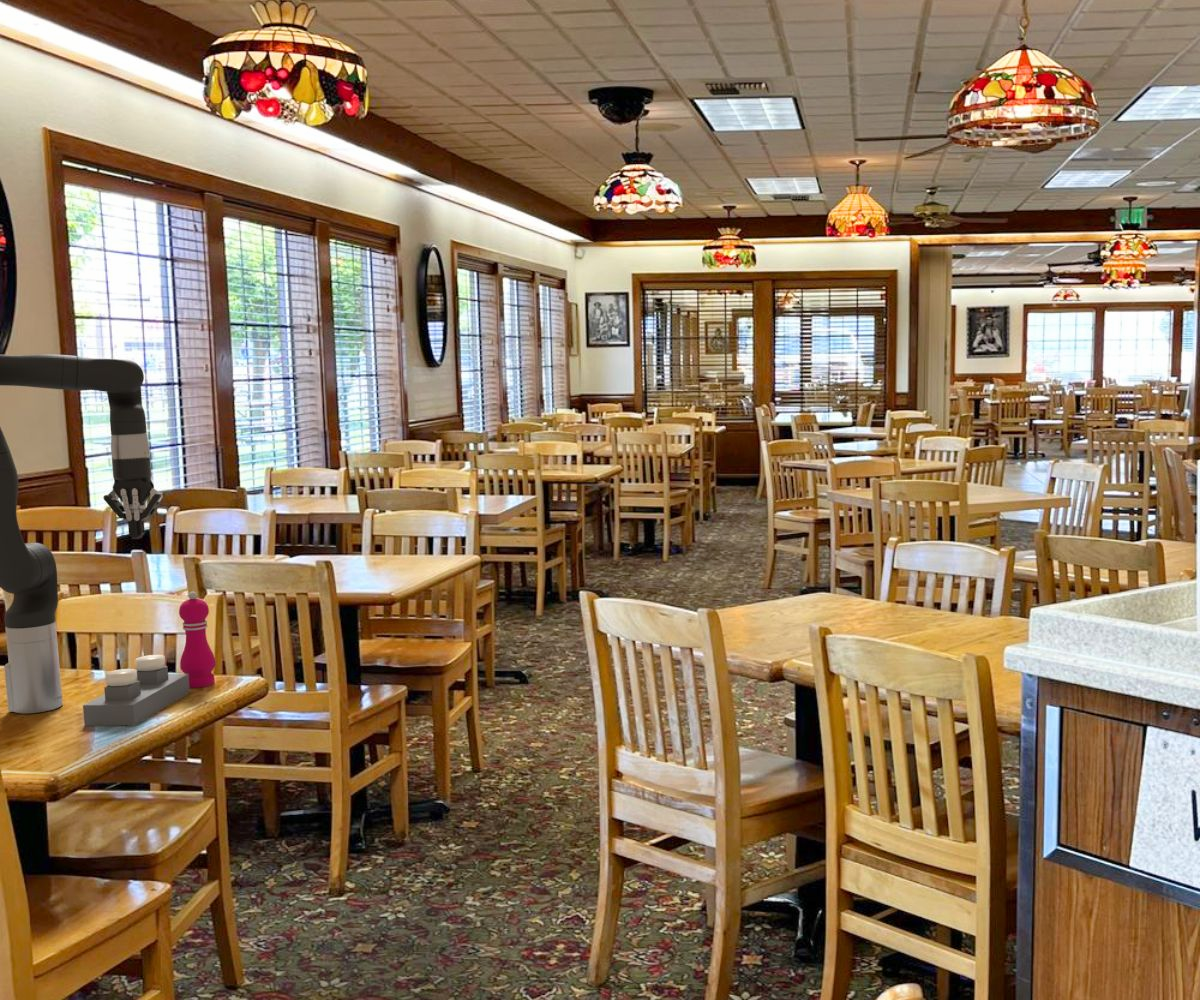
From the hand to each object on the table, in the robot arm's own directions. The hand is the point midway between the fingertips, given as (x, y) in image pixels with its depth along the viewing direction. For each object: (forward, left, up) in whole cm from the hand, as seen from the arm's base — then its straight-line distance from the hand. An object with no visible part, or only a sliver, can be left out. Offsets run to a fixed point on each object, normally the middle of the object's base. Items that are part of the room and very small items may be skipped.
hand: (137, 538), depth 269 cm
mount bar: (+7, -18, -32) cm, 37 cm away
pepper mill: (+11, +1, -32) cm, 34 cm away
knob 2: (+7, -12, -28) cm, 31 cm away
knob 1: (+7, -24, -28) cm, 37 cm away
